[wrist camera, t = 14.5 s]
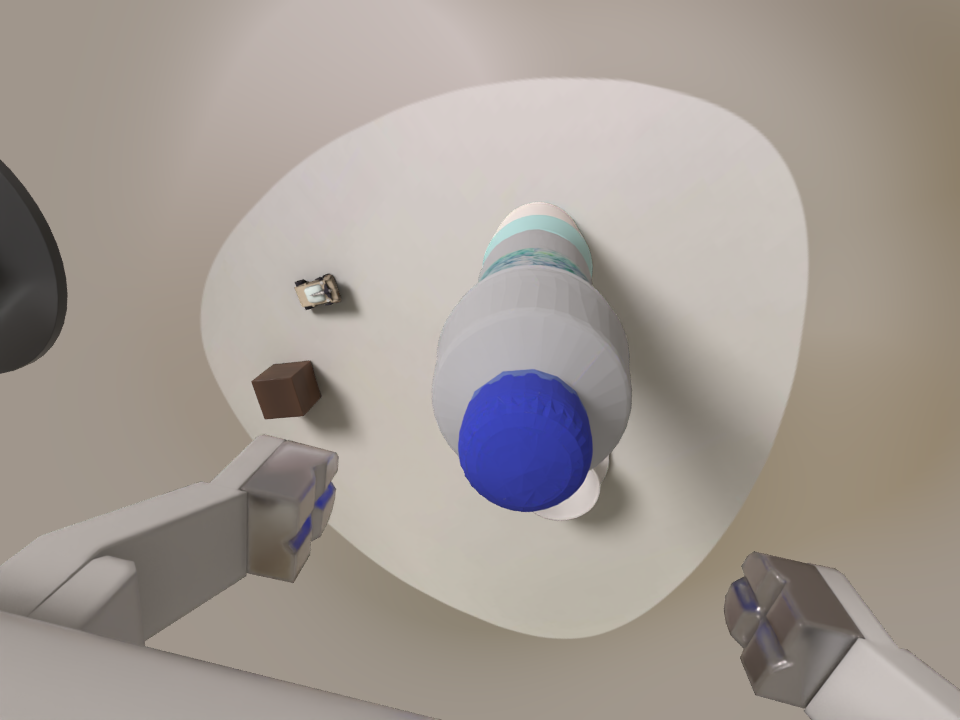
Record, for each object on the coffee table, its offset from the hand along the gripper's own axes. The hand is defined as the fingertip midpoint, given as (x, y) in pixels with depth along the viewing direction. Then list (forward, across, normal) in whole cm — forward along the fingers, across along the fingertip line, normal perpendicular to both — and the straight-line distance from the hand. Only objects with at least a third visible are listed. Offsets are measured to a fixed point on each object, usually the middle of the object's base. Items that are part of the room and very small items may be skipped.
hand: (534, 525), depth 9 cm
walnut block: (+34, +20, +18) cm, 43 cm away
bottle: (+22, 0, 0) cm, 22 cm away
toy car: (+34, +18, +8) cm, 39 cm away
